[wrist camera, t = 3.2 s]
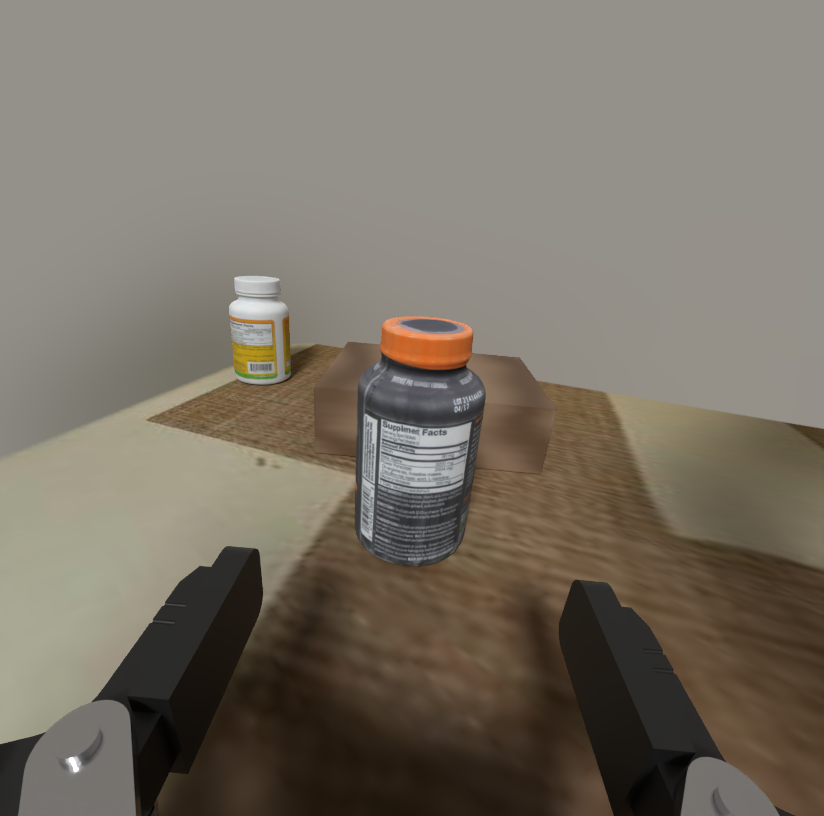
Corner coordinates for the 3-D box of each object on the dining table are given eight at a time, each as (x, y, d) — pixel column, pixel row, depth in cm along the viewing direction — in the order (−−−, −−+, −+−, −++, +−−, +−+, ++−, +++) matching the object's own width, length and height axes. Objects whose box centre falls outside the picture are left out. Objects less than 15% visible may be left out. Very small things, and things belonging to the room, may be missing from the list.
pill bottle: (394, 484, 26) (408, 304, 21) (480, 522, 23) (517, 325, 18) (330, 536, 21) (330, 318, 16) (428, 591, 18) (461, 349, 14)
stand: (509, 406, 39) (519, 357, 37) (540, 474, 28) (557, 409, 26) (347, 391, 39) (348, 341, 37) (315, 452, 28) (314, 386, 26)
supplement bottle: (268, 365, 45) (263, 273, 41) (302, 377, 42) (299, 280, 38) (224, 376, 40) (213, 275, 37) (258, 390, 38) (250, 283, 34)
